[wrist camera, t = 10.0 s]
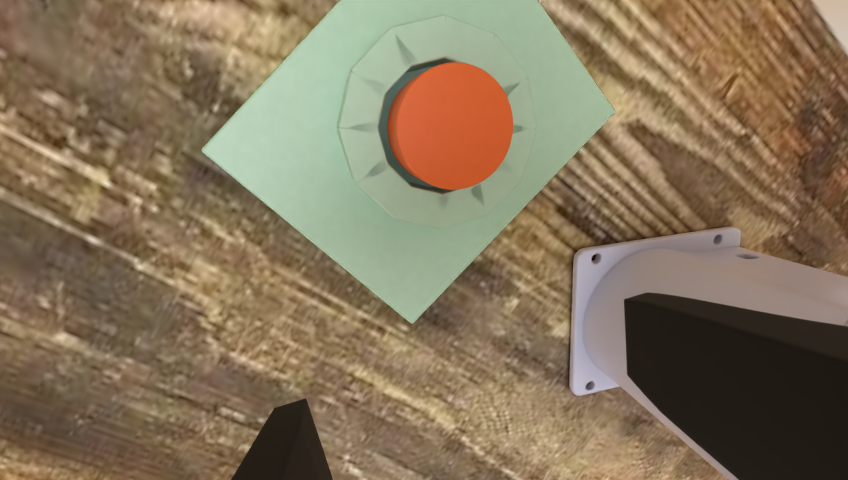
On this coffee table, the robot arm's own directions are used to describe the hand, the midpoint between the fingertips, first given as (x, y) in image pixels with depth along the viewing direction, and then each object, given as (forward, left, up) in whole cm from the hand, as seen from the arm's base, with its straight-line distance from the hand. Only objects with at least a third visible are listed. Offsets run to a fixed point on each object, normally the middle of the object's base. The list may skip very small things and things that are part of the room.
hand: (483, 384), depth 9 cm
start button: (-1, -5, -6) cm, 8 cm away
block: (-1, -5, -10) cm, 11 cm away
